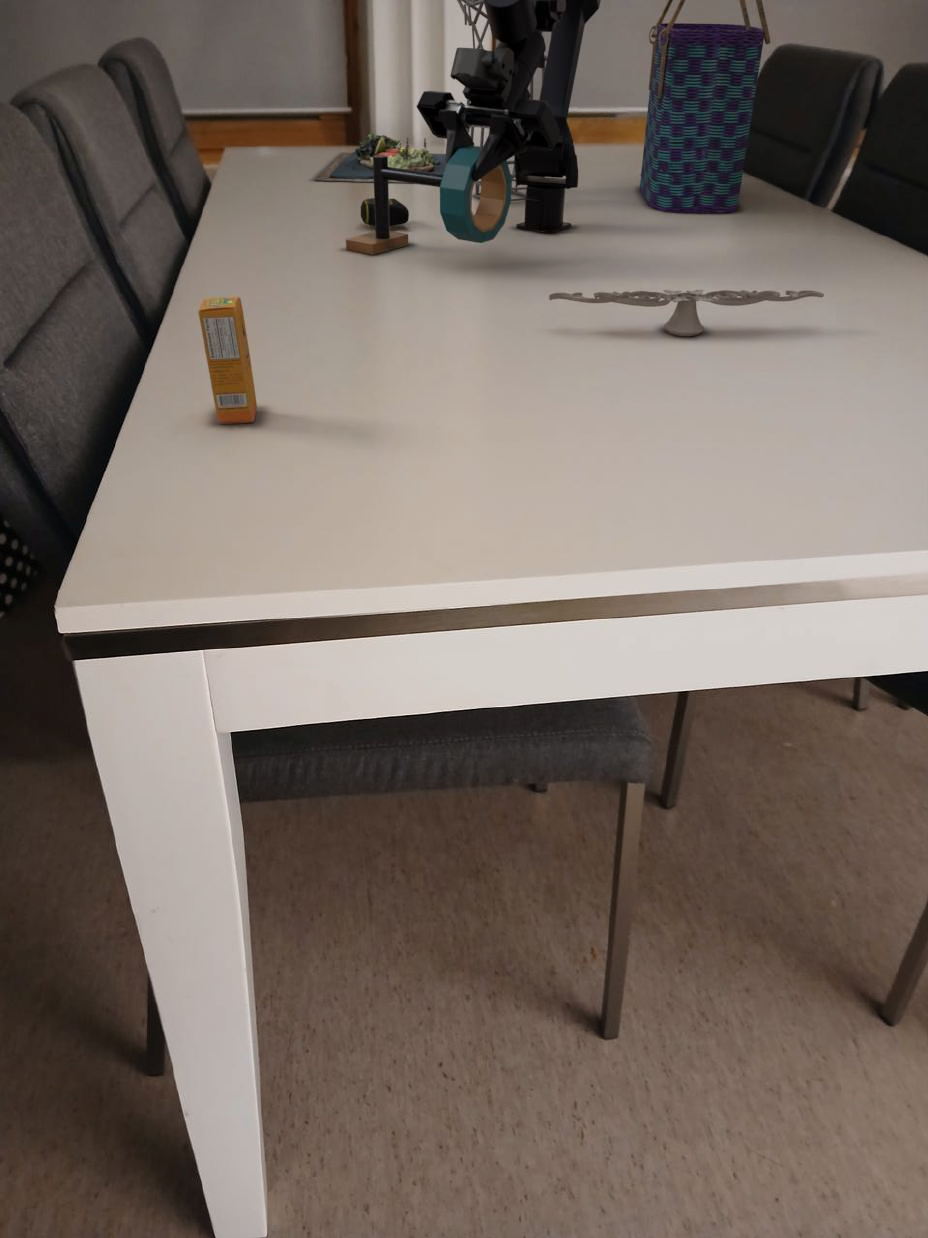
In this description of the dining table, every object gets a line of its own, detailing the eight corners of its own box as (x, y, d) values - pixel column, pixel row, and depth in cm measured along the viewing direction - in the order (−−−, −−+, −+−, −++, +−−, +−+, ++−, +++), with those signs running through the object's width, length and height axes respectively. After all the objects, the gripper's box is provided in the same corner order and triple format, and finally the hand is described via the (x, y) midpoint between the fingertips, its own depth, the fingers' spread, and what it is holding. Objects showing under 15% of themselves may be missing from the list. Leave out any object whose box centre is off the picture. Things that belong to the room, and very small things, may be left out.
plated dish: (462, 184, 181) (462, 140, 177) (313, 183, 182) (310, 140, 178) (468, 157, 210) (468, 119, 206) (340, 157, 211) (338, 119, 207)
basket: (748, 214, 161) (797, -82, 139) (643, 211, 162) (675, -83, 140) (721, 186, 183) (759, -74, 161) (629, 184, 183) (654, -75, 161)
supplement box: (218, 410, 86) (203, 295, 80) (257, 409, 86) (245, 295, 81) (213, 424, 83) (197, 307, 78) (254, 424, 83) (240, 306, 78)
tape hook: (382, 245, 139) (379, 154, 132) (449, 258, 133) (449, 163, 127) (373, 248, 138) (369, 156, 131) (440, 261, 132) (440, 165, 125)
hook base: (381, 239, 142) (381, 229, 141) (408, 244, 140) (408, 233, 139) (346, 249, 137) (345, 238, 136) (373, 255, 134) (372, 243, 133)
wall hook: (823, 340, 106) (833, 301, 104) (549, 339, 104) (553, 299, 101) (808, 325, 110) (817, 287, 107) (543, 323, 108) (546, 285, 105)
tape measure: (410, 229, 148) (410, 203, 146) (366, 232, 146) (365, 205, 144) (399, 220, 153) (398, 195, 151) (356, 222, 152) (355, 197, 150)
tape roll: (486, 229, 133) (488, 141, 127) (509, 233, 131) (513, 144, 125) (439, 244, 125) (439, 151, 119) (463, 249, 124) (464, 154, 118)
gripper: (424, 16, 120) (371, 124, 119) (553, 22, 111) (498, 138, 110) (460, 84, 130) (411, 184, 128) (581, 94, 121) (531, 202, 120)
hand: (459, 176), depth 121 cm, fingers closed on tape roll, 4 cm apart
